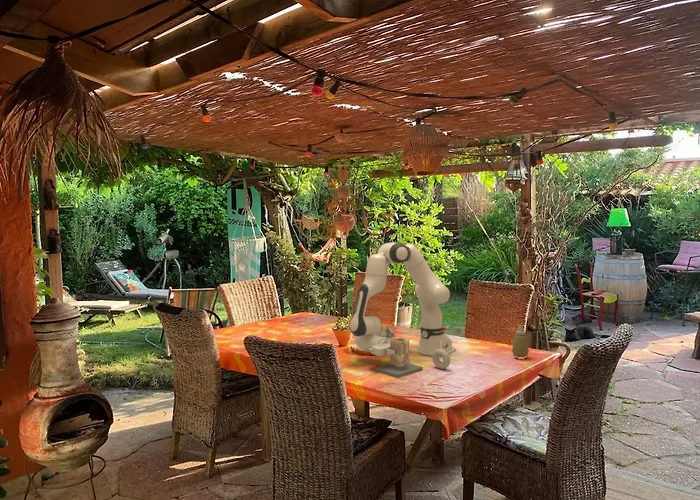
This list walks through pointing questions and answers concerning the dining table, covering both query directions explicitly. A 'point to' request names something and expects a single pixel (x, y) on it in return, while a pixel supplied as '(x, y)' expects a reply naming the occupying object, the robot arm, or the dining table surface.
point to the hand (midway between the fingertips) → (401, 350)
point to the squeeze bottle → (520, 343)
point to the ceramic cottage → (387, 332)
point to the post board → (399, 370)
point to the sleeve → (399, 351)
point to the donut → (437, 361)
